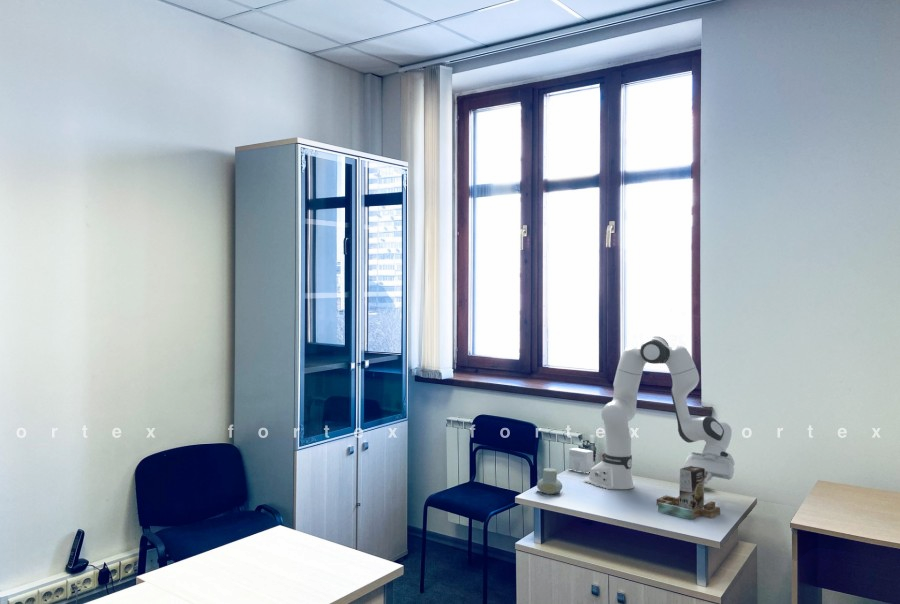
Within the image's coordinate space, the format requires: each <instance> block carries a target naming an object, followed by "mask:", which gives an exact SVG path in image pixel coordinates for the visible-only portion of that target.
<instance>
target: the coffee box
mask: <svg viewBox="0 0 900 604" xmlns="http://www.w3.org/2000/svg"><path fill="white" fill-rule="evenodd" d="M704 474H705V469H704V468H700V467H694V466H689V467H685V468H684V467H682V468H680V469H679V496H678V497H679V505H678V507H682V508H686V509H690V510H695V509H697V508H702V509H704V505H705V484H704Z"/></svg>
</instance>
